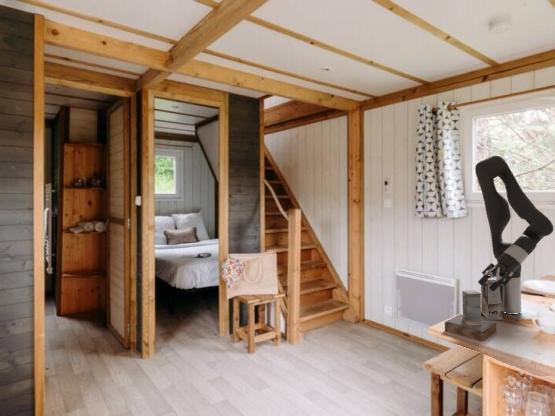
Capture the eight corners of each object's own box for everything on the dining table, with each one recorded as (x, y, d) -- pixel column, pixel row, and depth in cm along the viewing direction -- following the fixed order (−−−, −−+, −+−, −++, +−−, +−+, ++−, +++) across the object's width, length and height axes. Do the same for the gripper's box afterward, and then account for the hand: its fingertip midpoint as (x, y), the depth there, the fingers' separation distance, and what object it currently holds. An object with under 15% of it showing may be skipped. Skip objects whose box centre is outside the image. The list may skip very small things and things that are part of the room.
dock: (444, 330, 157) (444, 321, 156) (460, 322, 165) (459, 313, 164) (481, 341, 145) (481, 331, 145) (496, 331, 153) (496, 322, 152)
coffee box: (503, 320, 164) (503, 284, 163) (487, 320, 166) (487, 284, 165) (495, 313, 173) (495, 279, 172) (481, 312, 174) (480, 279, 173)
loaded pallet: (461, 320, 156) (461, 290, 156) (475, 319, 156) (474, 289, 156) (468, 325, 151) (468, 294, 150) (482, 324, 151) (481, 293, 150)
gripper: (495, 249, 159) (469, 276, 160) (516, 255, 145) (488, 285, 146) (508, 260, 160) (482, 287, 161) (530, 268, 145) (501, 298, 146)
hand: (485, 286), depth 153 cm, fingers open, 8 cm apart
